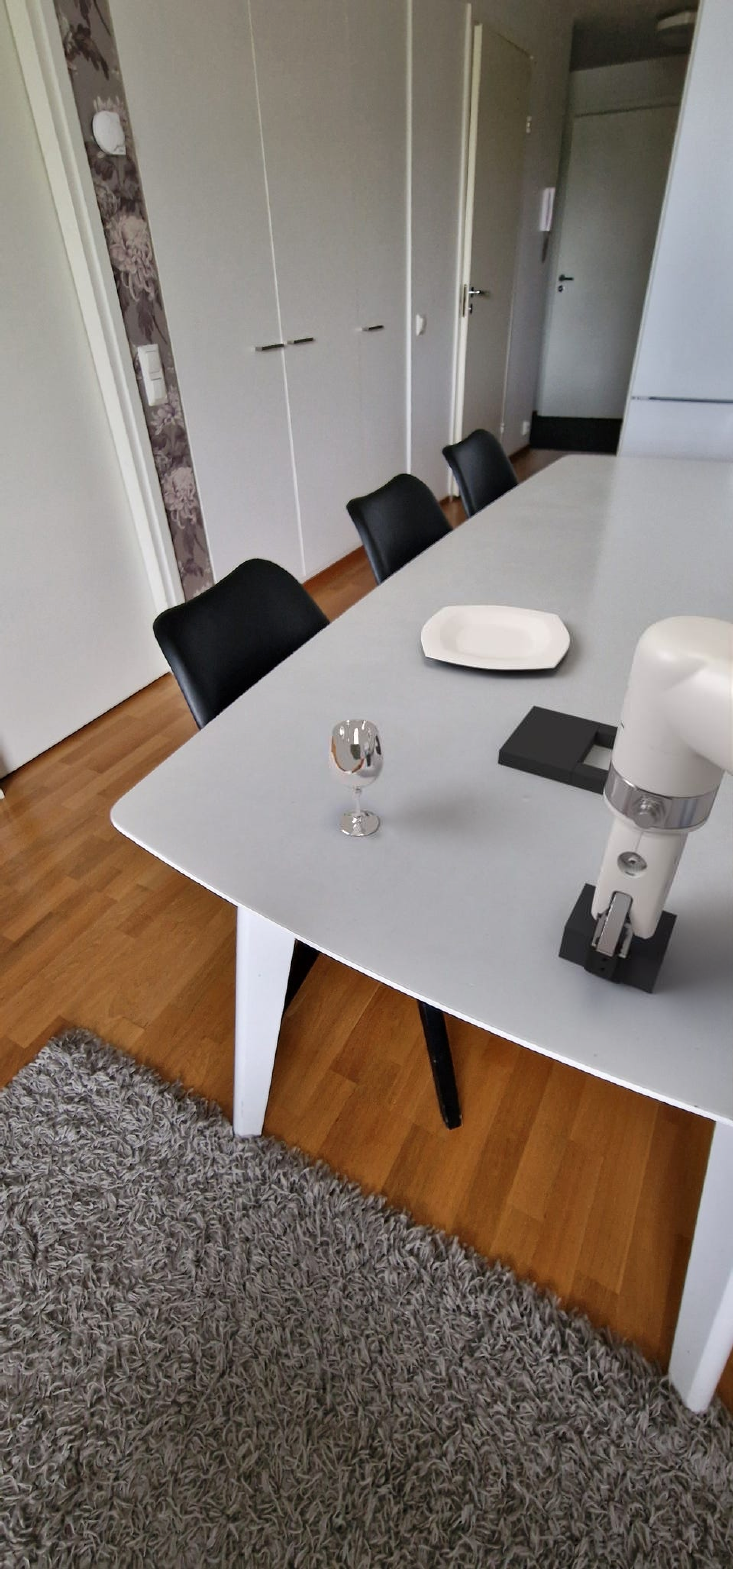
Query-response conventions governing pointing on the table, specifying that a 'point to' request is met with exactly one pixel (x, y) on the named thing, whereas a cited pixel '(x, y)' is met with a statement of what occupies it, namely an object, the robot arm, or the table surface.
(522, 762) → the socket pad
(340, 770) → the wineglass
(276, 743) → the table surface
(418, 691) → the table surface
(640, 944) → the black rectangular block
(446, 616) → the plate
